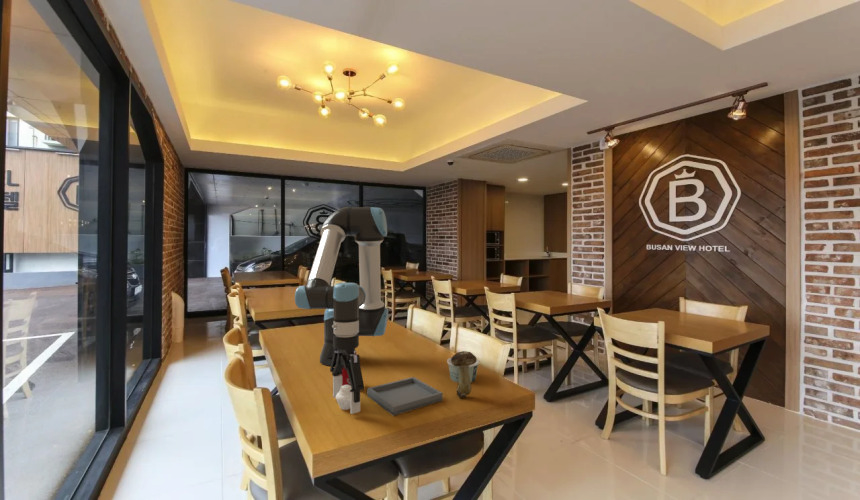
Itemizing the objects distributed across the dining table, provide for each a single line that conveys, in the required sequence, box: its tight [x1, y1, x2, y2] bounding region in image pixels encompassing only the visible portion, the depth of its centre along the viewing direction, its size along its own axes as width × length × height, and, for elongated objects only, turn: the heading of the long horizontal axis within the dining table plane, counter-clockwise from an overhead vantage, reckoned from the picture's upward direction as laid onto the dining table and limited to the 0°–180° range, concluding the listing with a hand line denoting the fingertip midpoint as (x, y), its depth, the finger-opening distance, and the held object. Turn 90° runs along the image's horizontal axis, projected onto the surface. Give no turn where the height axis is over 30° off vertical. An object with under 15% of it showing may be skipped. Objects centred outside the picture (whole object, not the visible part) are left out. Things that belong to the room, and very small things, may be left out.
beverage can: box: [339, 350, 357, 386], centre depth 128 cm, size 6×6×12 cm
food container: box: [446, 356, 480, 383], centre depth 136 cm, size 12×12×6 cm
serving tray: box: [366, 376, 444, 417], centre depth 119 cm, size 17×18×2 cm
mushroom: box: [450, 350, 478, 399], centre depth 119 cm, size 9×9×15 cm
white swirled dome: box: [335, 385, 352, 411], centre depth 112 cm, size 6×6×7 cm
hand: (346, 404), depth 112 cm, fingers open, 13 cm apart
